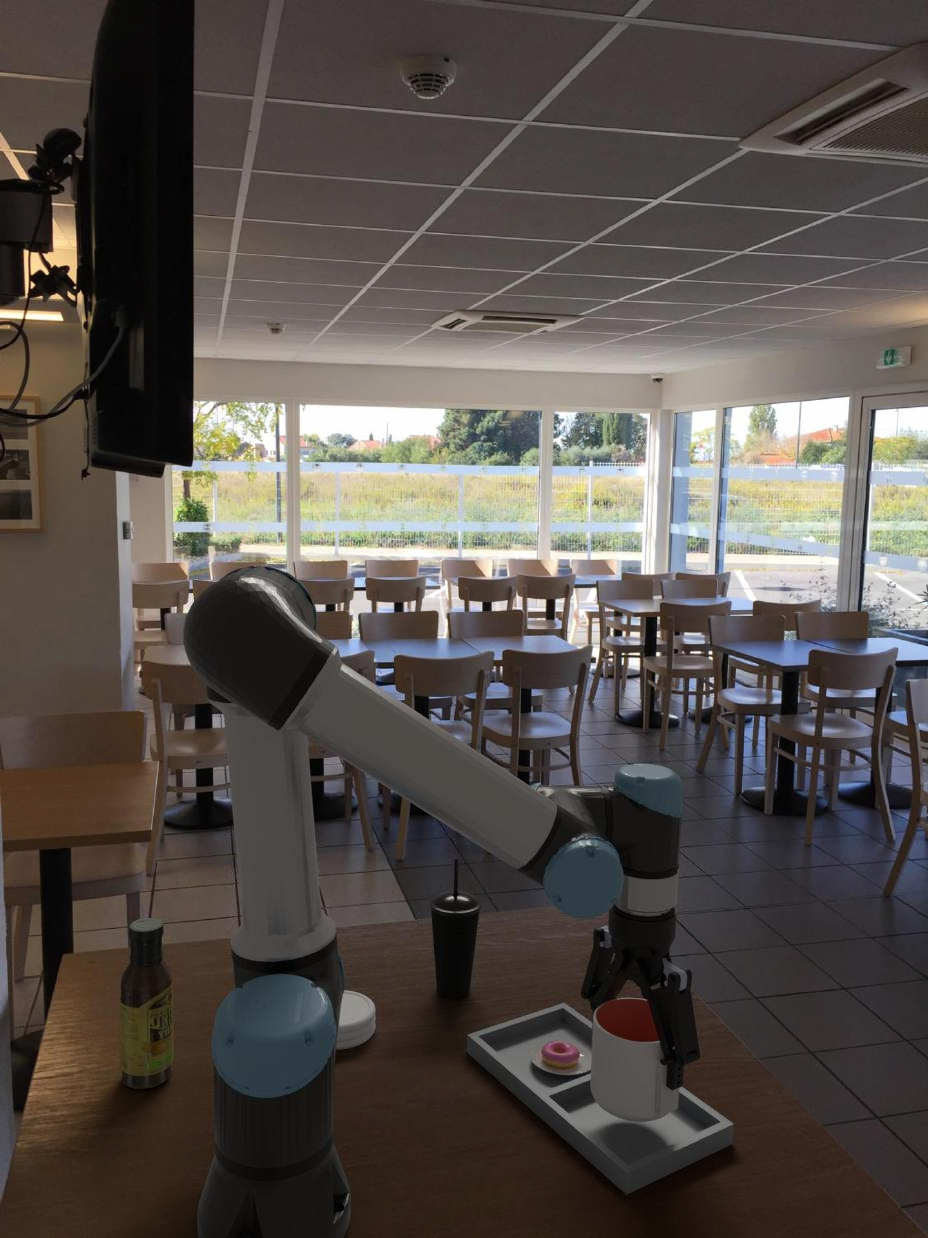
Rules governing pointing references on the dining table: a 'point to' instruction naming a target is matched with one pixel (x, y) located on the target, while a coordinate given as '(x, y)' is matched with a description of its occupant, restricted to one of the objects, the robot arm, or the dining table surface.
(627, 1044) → the cup
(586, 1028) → the carrier tray
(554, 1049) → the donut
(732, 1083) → the dining table surface
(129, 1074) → the sauce bottle
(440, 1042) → the dining table surface
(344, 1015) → the white plate stack
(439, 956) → the drinking cup
